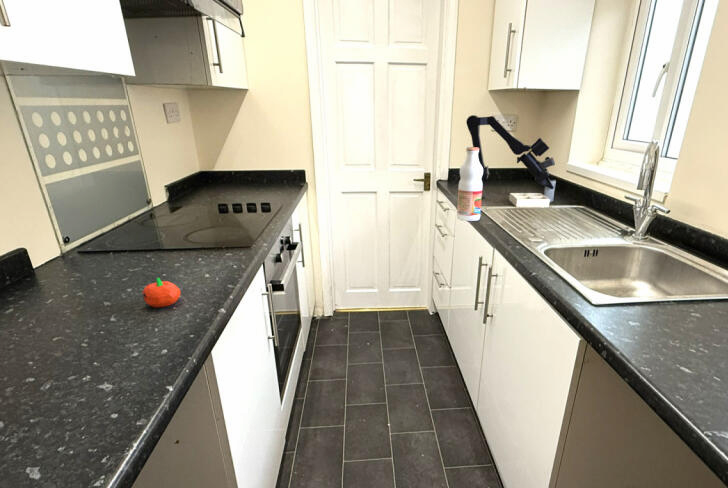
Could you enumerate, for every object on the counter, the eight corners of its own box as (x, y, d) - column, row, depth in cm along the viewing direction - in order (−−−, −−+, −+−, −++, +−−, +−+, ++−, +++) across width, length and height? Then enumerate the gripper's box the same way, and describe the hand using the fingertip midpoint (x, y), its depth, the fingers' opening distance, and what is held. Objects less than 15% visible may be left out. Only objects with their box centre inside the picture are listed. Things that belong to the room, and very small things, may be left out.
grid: (509, 200, 203) (509, 193, 201) (539, 200, 202) (540, 193, 201) (516, 206, 189) (517, 199, 187) (548, 207, 188) (549, 199, 187)
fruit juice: (457, 215, 173) (460, 146, 162) (479, 216, 172) (484, 146, 161) (456, 221, 164) (460, 148, 154) (480, 222, 163) (485, 148, 152)
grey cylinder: (541, 200, 202) (543, 179, 198) (548, 200, 203) (551, 178, 199) (547, 202, 198) (550, 180, 194) (554, 201, 199) (557, 180, 195)
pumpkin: (160, 314, 89) (153, 287, 87) (139, 306, 93) (132, 280, 90) (190, 302, 95) (184, 276, 93) (169, 295, 99) (163, 270, 96)
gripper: (546, 153, 184) (568, 179, 186) (545, 149, 201) (565, 173, 202) (526, 170, 189) (548, 195, 191) (526, 165, 206) (546, 188, 207)
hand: (552, 187), depth 197 cm, fingers closed on grey cylinder, 4 cm apart
